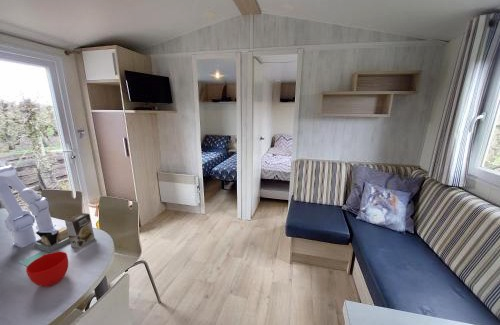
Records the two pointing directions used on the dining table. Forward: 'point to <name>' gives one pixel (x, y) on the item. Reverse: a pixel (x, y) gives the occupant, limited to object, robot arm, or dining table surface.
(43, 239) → the labelled block
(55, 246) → the parts bin
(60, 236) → the plain block
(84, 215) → the coffee box
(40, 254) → the teal mat
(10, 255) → the dining table surface
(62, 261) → the red mixing bowl
